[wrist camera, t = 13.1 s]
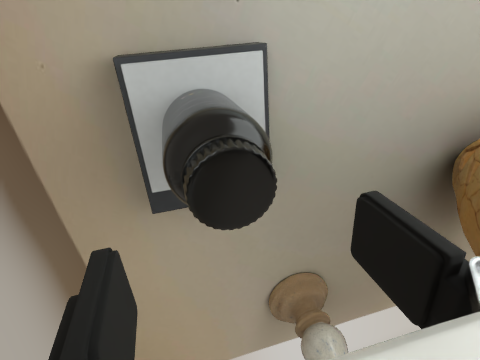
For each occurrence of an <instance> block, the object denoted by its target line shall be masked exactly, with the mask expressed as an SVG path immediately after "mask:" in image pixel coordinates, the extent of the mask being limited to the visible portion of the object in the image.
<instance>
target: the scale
mask: <svg viewBox="0 0 480 360" xmlns="http://www.w3.org/2000/svg"><path fill="white" fill-rule="evenodd" d="M113 61H114V65H115V69H116V73H117V77H118V81H119V85H120V89H121V93H122V97H123V100H124V104H125V108H126V112H127V116H128V120H129V124H130V128H131V132H132V135H133V139H134V143H135V147H136V151H137V155H138V159H139V163H140V167H141V170H142V174H143V178H144V182H145V186H146V190H147V194H148V198H149V202H150V206H151V209H152V213H153V214H155V213H161V212H166V211H171V210H177V209H182V208H187V207H188V205H186V204H185V203H183V202H182V201H181V200H180V199H178V197H177V196H176V195H175V194H174V193H173V192H172V190H171V189H170V187H169V185H168V183H167V181H166V178H165V175H164V170H163V157H162V123H163V119H164V115H165V113H166V111H167V109H168V107H169V106H170V104H171V103H172V102H173V101H174V100H175V99H176V98H177V97H179V96H180V95H182V94H183V93H186V92H188V91H191V90H195V89H210V90H214V91H217V92H220V93H222V94H224V95H225V96H227V97H228V98H229V99H231V100H232V101H233V102H234V103H236V104H237V105H238V106H239V107H240V108H242V109H243V110H244V111H245V112H246V113H248V114H249V115H250V116H251V117H252V118H253V119H255V120H256V121H257V122H258V123H259V125H260V126H261V127H262V128H263V130H264V131H265V133H266V134H267V136H268V139H269V108H268V72H267V43H260V42H255V43H245V44H234V45H223V46H213V47H202V48H191V49H181V50H170V51H159V52H149V53H138V54H127V55H117V56H115V57H113Z"/></svg>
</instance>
